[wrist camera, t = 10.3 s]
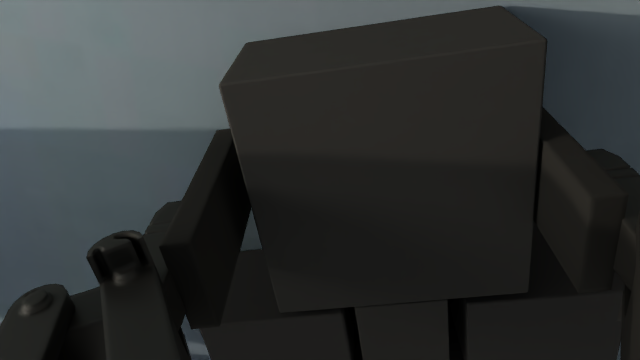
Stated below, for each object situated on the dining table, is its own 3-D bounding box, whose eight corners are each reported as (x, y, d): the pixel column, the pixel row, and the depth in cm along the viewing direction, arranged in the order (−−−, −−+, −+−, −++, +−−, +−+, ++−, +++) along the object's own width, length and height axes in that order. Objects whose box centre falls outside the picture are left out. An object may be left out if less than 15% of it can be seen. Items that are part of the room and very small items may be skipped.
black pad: (501, 4, 15) (548, 38, 11) (493, 279, 20) (524, 358, 17) (245, 42, 16) (217, 84, 12) (303, 295, 21) (295, 373, 18)
